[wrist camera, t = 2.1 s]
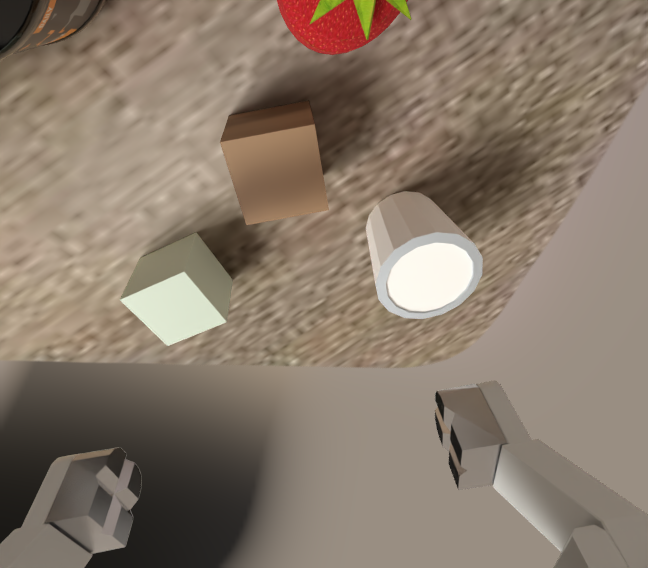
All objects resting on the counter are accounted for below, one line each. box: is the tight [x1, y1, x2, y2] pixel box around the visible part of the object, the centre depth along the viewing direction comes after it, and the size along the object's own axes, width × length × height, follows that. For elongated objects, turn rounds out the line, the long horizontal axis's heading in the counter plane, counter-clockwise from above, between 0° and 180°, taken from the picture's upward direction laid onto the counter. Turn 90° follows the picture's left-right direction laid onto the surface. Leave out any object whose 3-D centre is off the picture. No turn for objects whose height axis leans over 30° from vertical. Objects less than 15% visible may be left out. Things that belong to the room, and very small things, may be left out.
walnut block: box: [220, 100, 329, 225], centre depth 24 cm, size 5×5×5 cm
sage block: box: [120, 232, 233, 346], centre depth 29 cm, size 5×5×5 cm
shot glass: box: [366, 191, 482, 319], centre depth 28 cm, size 7×7×7 cm
